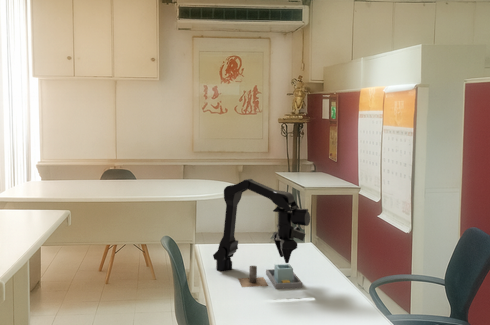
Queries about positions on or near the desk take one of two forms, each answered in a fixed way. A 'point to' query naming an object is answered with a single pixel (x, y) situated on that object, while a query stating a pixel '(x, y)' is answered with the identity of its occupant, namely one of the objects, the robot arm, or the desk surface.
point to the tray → (295, 284)
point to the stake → (252, 279)
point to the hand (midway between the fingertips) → (284, 260)
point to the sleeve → (283, 273)
